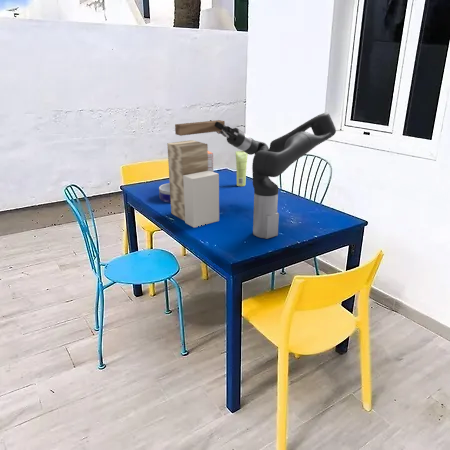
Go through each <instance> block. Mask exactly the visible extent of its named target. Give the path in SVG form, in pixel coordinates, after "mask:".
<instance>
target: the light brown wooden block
mask: <svg viewBox="0 0 450 450" xmlns="http://www.w3.org/2000/svg"><path fill="white" fill-rule="evenodd" d="M216 121H217V122H219V123H221V124H222V125H225V126H226V124H225V120H219V119H218V120H212V121H210V120H207V121H195V122H194V121H193V122H185V123H175V124H174V130H175V135H176V136H181V137H182V136H190V135H197V134H208V133H217V131H221V130H220V129H218V128H217V127H215V123H216Z"/></svg>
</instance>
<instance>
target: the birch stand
mask: <svg viewBox="0 0 450 450" xmlns="http://www.w3.org/2000/svg"><path fill="white" fill-rule="evenodd" d="M166 145H167V159H168V160H167V161H168V162H167V163H168V177H169V178H168V180H169V183H170V198H171V202H170V212H171V214H172V215H173V216H175V217H177V218H178V219H180V220H182V221H184V222H185V206H184V183H183V175H188V174H193V173H198V172H204V171H208V151H209V148H208V146H209V145H208V143H205V142H201V141H197V140H193V139H190V140H182V141H175V142H168V143H167V144H166Z"/></svg>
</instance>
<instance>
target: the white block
mask: <svg viewBox="0 0 450 450" xmlns="http://www.w3.org/2000/svg"><path fill="white" fill-rule="evenodd" d="M219 174H220V173H217V172H215V171H213V172H212V171H204V172H198V173H193V174H188V175H183V183H184V206H185V221H184V222H185V224H186V225H188V226H190V227H192V228H193V229H194V228H198V226H199V227H202V226H205V224H206V225H208V224H213V223H216V222H219V221H220V175H219ZM201 225H202V226H201Z"/></svg>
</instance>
